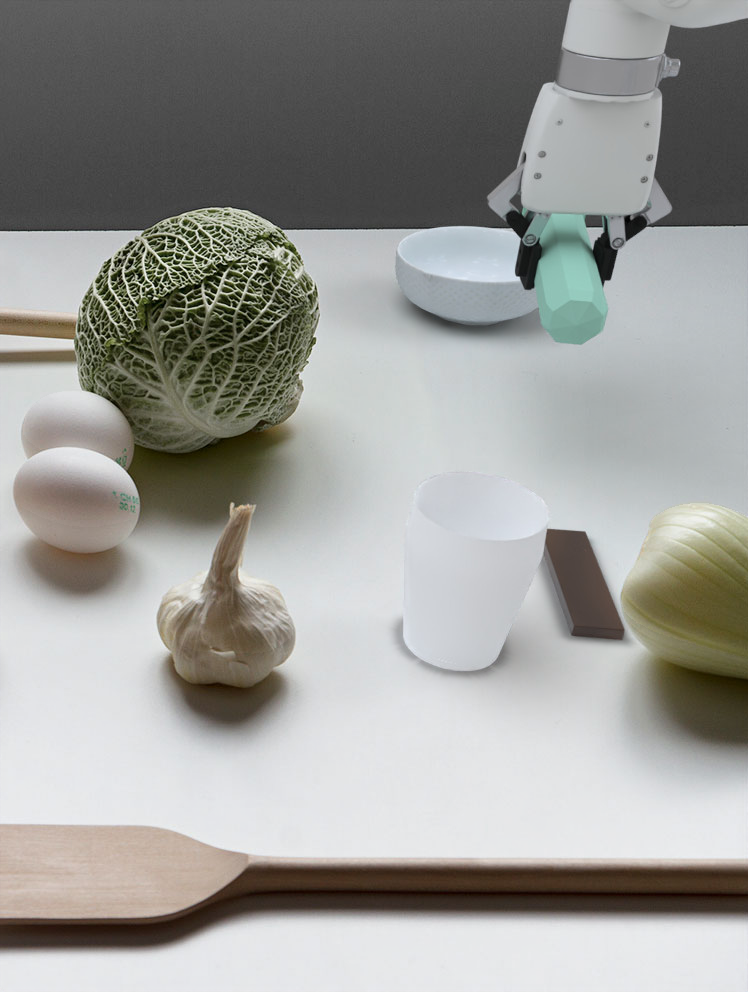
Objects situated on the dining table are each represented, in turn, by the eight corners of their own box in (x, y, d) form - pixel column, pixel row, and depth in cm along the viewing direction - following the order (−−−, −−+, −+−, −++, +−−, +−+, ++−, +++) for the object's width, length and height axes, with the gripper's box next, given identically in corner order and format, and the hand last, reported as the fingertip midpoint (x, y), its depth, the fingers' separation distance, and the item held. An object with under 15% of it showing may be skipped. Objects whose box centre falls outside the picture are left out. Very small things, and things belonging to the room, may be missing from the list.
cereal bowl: (481, 273, 152) (493, 215, 148) (582, 329, 138) (597, 267, 135) (357, 295, 147) (366, 236, 143) (449, 355, 133) (462, 291, 130)
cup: (401, 594, 99) (427, 459, 92) (525, 627, 95) (561, 488, 89) (372, 662, 92) (397, 521, 85) (504, 700, 88) (541, 555, 82)
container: (609, 281, 99) (579, 177, 120) (528, 302, 102) (512, 196, 122) (624, 348, 102) (592, 235, 122) (545, 367, 104) (526, 253, 125)
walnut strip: (582, 543, 104) (585, 530, 104) (621, 643, 93) (625, 630, 93) (536, 539, 105) (540, 527, 104) (570, 639, 94) (574, 625, 93)
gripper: (707, 63, 105) (652, 274, 115) (489, 59, 108) (453, 265, 118) (735, 87, 99) (675, 307, 109) (502, 82, 102) (463, 297, 111)
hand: (560, 283), depth 113 cm, fingers closed on container, 4 cm apart
